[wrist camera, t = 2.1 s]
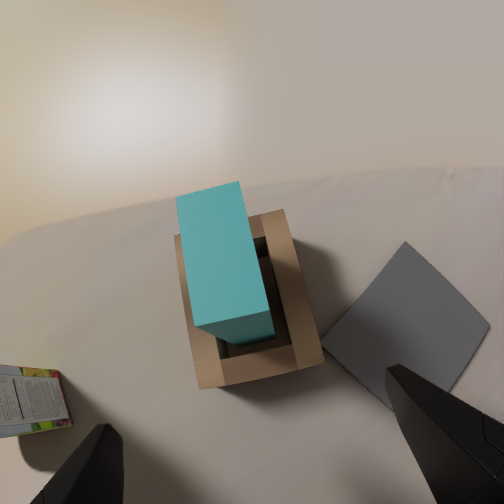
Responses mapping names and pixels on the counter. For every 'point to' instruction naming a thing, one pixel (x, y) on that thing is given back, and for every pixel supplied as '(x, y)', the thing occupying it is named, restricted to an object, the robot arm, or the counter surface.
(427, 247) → the counter surface
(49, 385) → the snack box
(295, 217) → the counter surface
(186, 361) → the counter surface
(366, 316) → the rubber mat
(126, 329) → the counter surface
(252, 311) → the teal block
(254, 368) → the slot box
